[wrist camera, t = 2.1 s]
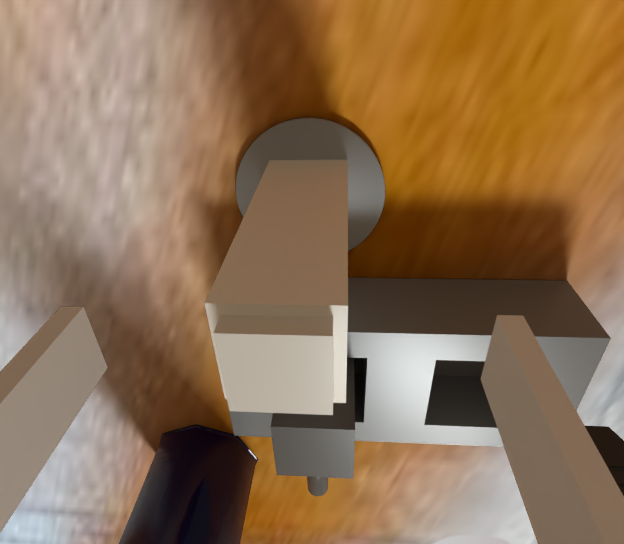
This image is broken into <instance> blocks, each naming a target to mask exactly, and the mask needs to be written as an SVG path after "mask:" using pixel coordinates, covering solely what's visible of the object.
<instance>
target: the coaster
mask: <svg viewBox="0 0 624 544" xmlns="http://www.w3.org/2000/svg"><path fill="white" fill-rule="evenodd" d="M269 160H348V251H349V250H351V249H353V248H354V247H356V246H357V245H359V244H360V243H361V242H362V241H363V240H364V239H365V238H367V237H368V235H369V234H370V233H371V232H372V230H373V229H374V227H375V226H376V224H377V223H378V220H379V218H380V216H381V213H382V210H383V206H384V200H385V184H384V177H383V173H382V169H381V166H380V164H379V161H378V159H377V157H376V155H375V154H374V152H373V151H372V149H371V148H370V147H369V145H368V144H367V143H366V142H365V141H364V140H363V139H362V138H361V137H360V136H359V135H358V134H356V133H355V132H353V131H352V130H350V129H349V128H347V127H345V126H343V125H341V124H339V123H336V122H333V121H330V120H326V119H321V118H310V117H306V118H296V119H291V120H287V121H284V122H282V123H279V124H277V125H275V126H273V127H271V128H269V129H268V130H266V131H265V132H264V133H262V134H261V135H260V136H259V137H258V138H257V139H256V140H255V141H254V142H253V143H252V144H251V146H250V147H249V148H248V150H247V151H246V153H245V155H244V157H243V159H242V160H241V163H240V166H239V169H238V173H237V177H236V197H237V202H238V206H239V209H240V212H241V214H242V216H243V217H244V215H245V213H246V211H247V209H248V207H249V204H250V202H251V200H252V198H253V196H254V193H255V191H256V189H257V187H258V185H259V182H260V180H261V178H262V176H263V174H264V171H265V169H266V167H267V165H268V163H269Z"/></svg>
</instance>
